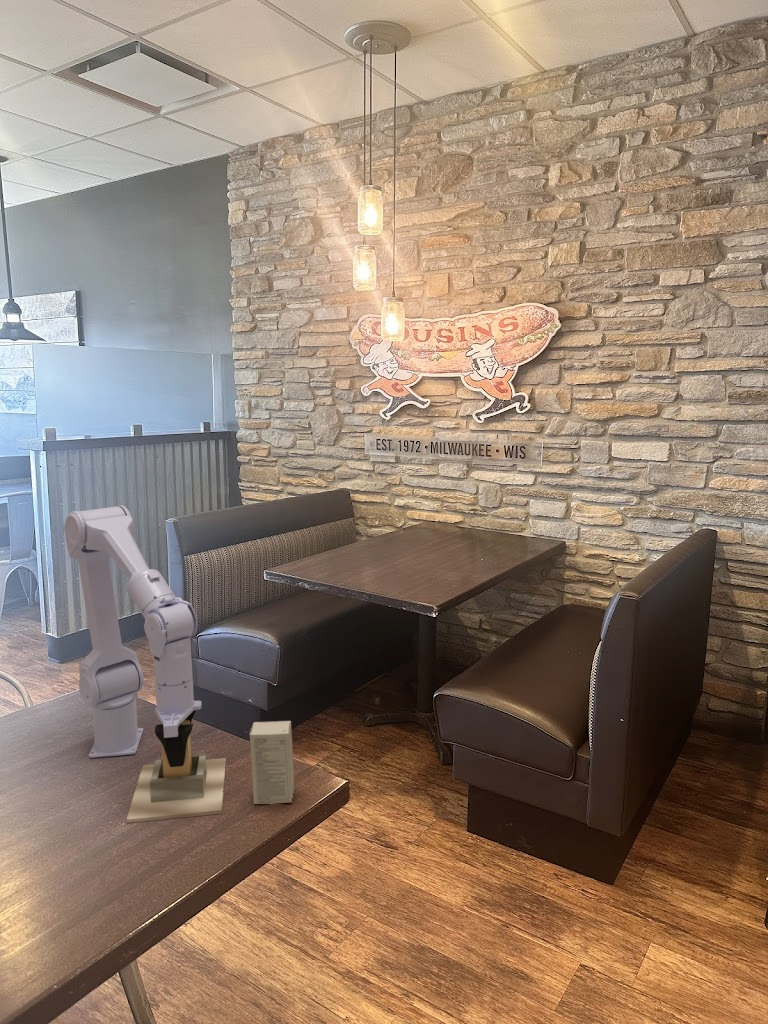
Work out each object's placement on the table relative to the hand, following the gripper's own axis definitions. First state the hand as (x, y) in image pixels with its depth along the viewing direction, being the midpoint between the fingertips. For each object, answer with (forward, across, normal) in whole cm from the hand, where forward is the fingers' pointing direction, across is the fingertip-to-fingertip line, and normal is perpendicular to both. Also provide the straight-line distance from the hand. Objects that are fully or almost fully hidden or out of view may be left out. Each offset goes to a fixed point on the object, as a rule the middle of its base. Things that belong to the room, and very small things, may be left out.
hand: (178, 758), depth 117 cm
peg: (+2, 0, 0) cm, 3 cm away
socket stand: (+6, 0, 0) cm, 6 cm away
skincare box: (+6, -5, -15) cm, 17 cm away
